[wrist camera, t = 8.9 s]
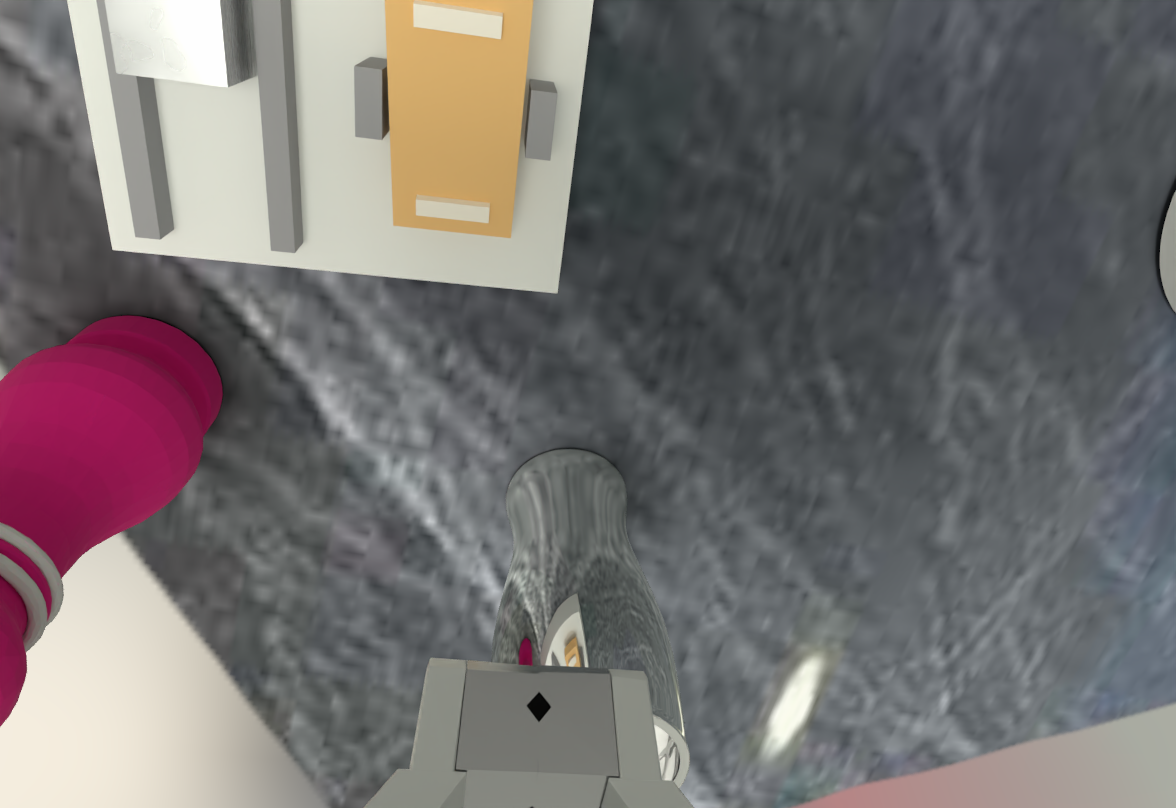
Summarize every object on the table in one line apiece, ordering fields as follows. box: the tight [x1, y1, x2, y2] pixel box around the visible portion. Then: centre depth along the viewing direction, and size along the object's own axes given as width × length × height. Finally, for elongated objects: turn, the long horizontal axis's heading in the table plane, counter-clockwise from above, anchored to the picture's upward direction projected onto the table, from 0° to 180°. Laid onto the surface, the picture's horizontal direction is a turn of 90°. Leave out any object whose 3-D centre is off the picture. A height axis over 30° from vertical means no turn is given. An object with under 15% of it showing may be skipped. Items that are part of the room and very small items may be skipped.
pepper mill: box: [0, 315, 223, 726], centre depth 24 cm, size 7×7×20 cm
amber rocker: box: [385, 0, 533, 238], centre depth 23 cm, size 4×8×2 cm, turn 172°
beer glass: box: [491, 449, 690, 789], centre depth 31 cm, size 7×7×15 cm
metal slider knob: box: [105, 0, 258, 88], centre depth 22 cm, size 3×3×3 cm
